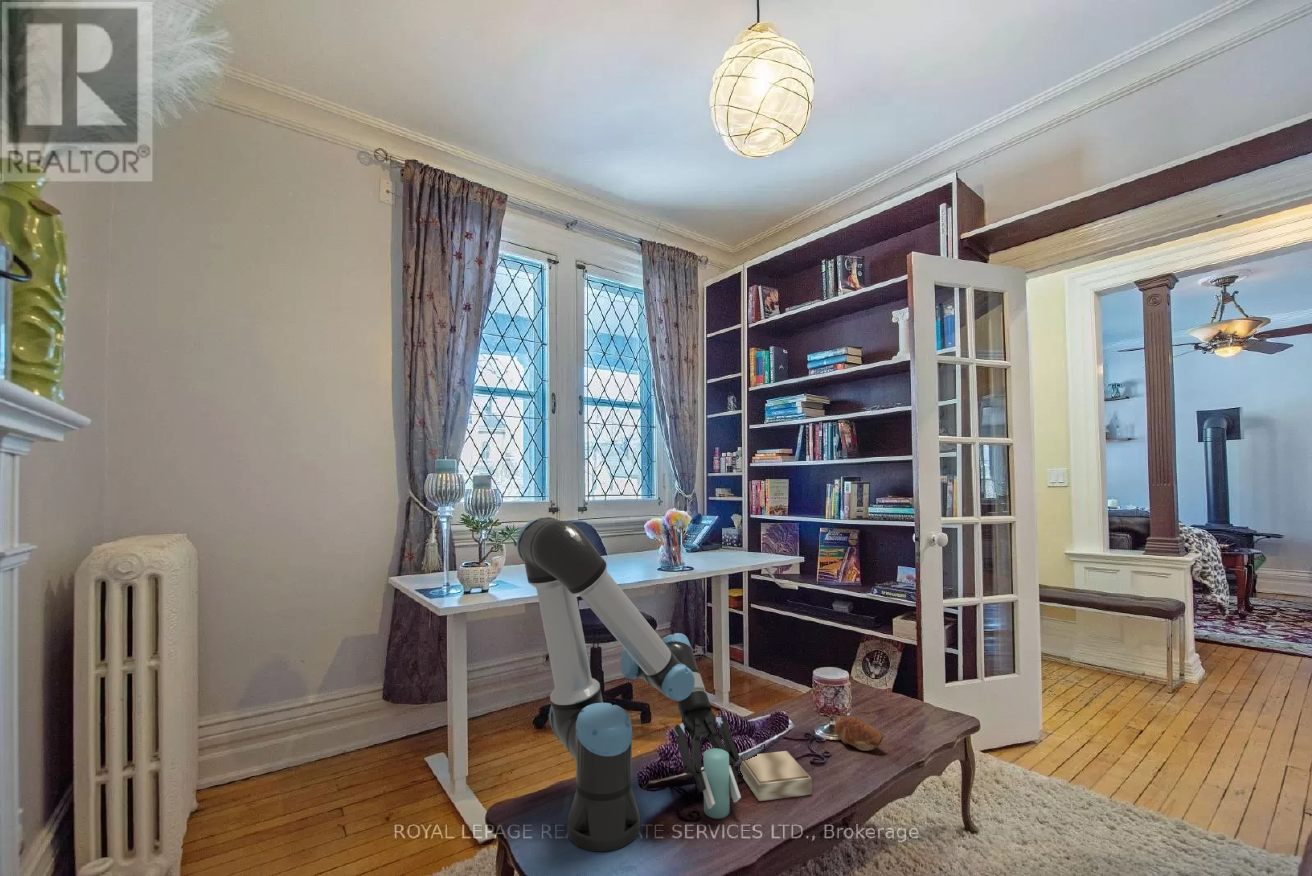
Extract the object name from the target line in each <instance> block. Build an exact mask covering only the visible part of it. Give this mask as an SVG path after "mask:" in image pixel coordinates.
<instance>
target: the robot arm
mask: <svg viewBox="0 0 1312 876" xmlns="http://www.w3.org/2000/svg"><path fill="white" fill-rule="evenodd" d="M516 540H517V541H516V548H517V553H518V555H519V557H520V559H521V561H522V562H523V563H524V568H525V573H526V577H527V583H528V584H529V585H531V586H532V587H534V588H535V589H536V593H537V598H538V599H537V600H538V604H539V609H540V615H541V620H542V625H543V631H544V635H545V636H544V637H545V641H546V647H547V653H548V657H549V662H550V667H551V673H552V679H553V683H554V688H553V690H552V692H551V693H550V695H549V700H550V708H549V725H550V727H551V730H552V732H553V734H554V736H555V737H556V739H557V740H558V741H559V742H561V743H562V745H563V747H565V749H566V750H567V751H568V752H569V753H570V755H571V757H573V759H574V760H575V767H576V768H575V773H576V775H575V777H576V779H575V782H576V784H575V785H576V787H575V793H574V797H573V800H572V803H571V806H570V810H569V812H568V816H567V825H566V826H567V828H566V829H567V831H566V832H567V836H568V838H569V840H570V841H571V842H572V843H573V844H574V845H575V846H577V847H579V848H581V849H583V850H587V851H590V852H591V851H593V852H609V851H613V850H614V851H615V850H619V849H620V848H623V847H625V846H627V845H628V844H630V843H632V842H633V841H634V840H635V839H636V838H637V836H639V832H640V829H641V816H640V811H639V807H638V805H637V801H636V798H635V795H634V794H635V793H634V792H633V789H632V788H633V787H632V786H633V784H632V779H633V777H632V772H633V770H632V769H633V768H632V766H633V764H632V763H633V758H632V756H633V754H632V753H633V729H632V720H631V717H630V714H629V713H628V712H627V711H626V709H624V708H623V707H621V706H619V705H617V704H613V705H612V703H610V702H604V701H603V695H602V690H601V683H600V682H599V681H598V680H597V679H596V678H594V677H592V673H591V668H590V662H589V657H588V651H587V646H586V641H585V640H586V639H585V634H584V630H583V624H582V619H581V614H580V609H579V603H578V597H577V596H578V595H579V596H580V598H581V599H582V600H583V601H584V602H585V604H586V605H587V606H588V607H589V608H590V609H591V611H592V612H593V613H594V615H596V616H597V618H598V619H599V621H600V622H601V623H602V624H603V625H604V626H605V628H606V629H607V630H608V631H609V633H611V634H612V636H613V637H614V638H615V640H616V641H617V642H618V643H619V644H620V645H621V646H622V648H623V649H622V651H621V653H620V661H619V666H620V671H621V674H622V676H623V677H624V678H625V679H629V680H630V679H631V680H636V679H641V680H643V681H644V682H646V683H647V684H649V685H650V686H651V687H653V688H655V689H656V690H657V691H659V692H660V693H661V694H663V695H664V697H666V698H667V699H671V700H672V701H675V702H677V704H676V705H677V707H678V711H679V714H680V717H681V723H680V724H676V725H675V726H674V728H673V729H672V734H673V735H674V737H675V739H676V741H677V746H678V751H679V755H680V758H681V761H682V766H683V770H684V773H685V774H686V775H691V777H693V778H695V783H696V785H697V789H698V791H699V792H702V793H703V798H704V797H705V800H706V804H707V807H708V809H710V808H712V807H713V806H714V805H715V801H714V798H713V795H712V791H711V788H710V785H709V781H708V778H707V775H706V772H705V771H704V770H703V771H702V758H701V757H702V754H701V753H702V752H701V738H706V739H707V740H708V742H710V744H711V745H712V747H713V748H717V749H722V750H725V751H726V752H728V754H729V794H730V795H731V798H732V802H733V803H737V802H738V801H739V800H740V799H741V798H742V796H741V793H740V790H739V787H738V782H739V777H738V773H737V771H736V767H735V765H736V763H737V762H739V759H740V757H741V756H740V754H739V751H738V749H737V747H736V744H735V741H734V740H733V736H732V734H731V731H730V729H729V726H728V717H727V716H726V715H724V716H722V717H720V716H719V717H718V716H716V715H715V713H714V712H713V710H712V706H711V703H710V699H709V697H708V694H707V692H706V688H705V685H704V682H703V679H702V675H701V674H700V670H699V667H698V664H697V660H696V658H695V657H696V656H695V654H694V651H693V648H692V645H691V643H690V640H689V638H688V636H686V635H685V634H684V633H680V632H676V633H675V632H674V633H673V634H668V635H666V636H665V637H663V639H661V637H660V635H659V634H658V633H657V632H656V630H655V629H654V628H653V627H652V626H651V625H650V623H649V622H648V621H647V620H646V618H645V617H644V616H643V614H642V613H641V612H640V611H639V609H638V608H637V607H636V605H634V603H633V602H632V600H630V598H629V597H628V596H627V594H626V593H625V592H624V590H622V588H621V587H620V585H618V583H617V582H616V581H615V580H614V578H613V577H612V576H611V574H610V573H609V572H608V571H607V570H608V564H607V562H606V561H605V559H604V557H602V555H601V554H600V553H599V552H598V550H597V549H596V547H595V546H594V545H593V544H592V542H591V541H590V539H588V537H587V536H586V534H585V533H584V532H583V531H582V530H581V529H580V528H579V527H578V526H577V525H575V524H574V523H572V522H569V521H566V520H559V519H556V518H554V517H552V516H551V517H550V516H547V517H545V516H544V517H538V518H534V519H532V520H529V522H527V523H526V524H525V525H523V527H522V528H521V530H520V531H519V534H518V536H517V539H516ZM715 725H716V726H717V728H718V730H719V733H720V736H721V738H720V736H719V735H718V731H717V730H716V728H715ZM686 732H687V733H688V734H690V744H691V754H690V750H689V745H688V742H687V737H686V734H685V733H686ZM721 739H722V740H721ZM691 757H692V758H691Z"/></svg>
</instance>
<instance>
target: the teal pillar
mask: <svg viewBox="0 0 1312 876" xmlns="http://www.w3.org/2000/svg"><path fill="white" fill-rule="evenodd" d="M703 771H705V772H706V775H707V778H708V781H709V785H710V788H711V791H712V795H713V798H714V801H715V805H714V806H713V807H712V808H710V809H708V807H707V804H706V800H705V797H704V796H703V813H704V814H705V815H706V816H707V817H709V818H712V819H718V820H719V819H724V818H726V817H727V816H729V815H730V790H729V754H728V752H726V751H725V750H722V749H717V748H714V747H713V748H708V749H706V750H705V751H704V752H703Z"/></svg>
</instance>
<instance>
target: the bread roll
mask: <svg viewBox="0 0 1312 876" xmlns="http://www.w3.org/2000/svg"><path fill="white" fill-rule="evenodd" d="M834 729H835V734H836V735H837V737H838V738H839V739H840V740H841V741H842V743H843V744H846V745H850V746H852V747H854V748H856V749H858V750H859V751H864V752H867V751H873V750H875V749H876V748H878V747H879V746H881V743H882V742H883V739H884V738H885V735H884V734H883V733H882V731H881V730H879V729H877V728H876V727H874V726H873V725H870V724H868V723H867V722H865V721H864V720H862V719H861V718H859V717H857V716H852V717H851V716H850V717H849V716H845V715H844V716H843V715H839V716H838V717H837V718H836V719H835V723H834Z"/></svg>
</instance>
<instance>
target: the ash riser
mask: <svg viewBox="0 0 1312 876" xmlns="http://www.w3.org/2000/svg"><path fill="white" fill-rule="evenodd" d="M756 754H757V756H755V757H752V758H750V759H748V760H745V761H742V763H741V765H740V771H741V773H742V775H743V777H742V778H743V780H744V782H745V783H746V784H747V786H748V787H749V789H750V790H751V792H752V793H753V795H754V797H755V798H756V799H757V801H758V802H763V801H772V800H777V799H778V800H779V799H786V798H794V797H802V796H803V797H804V796H809V795H810V796H811V795H813V791H812V790H813V787H812V786H813V784H812V783H813V781H812V780H813V778H812V777H811V776H810V775H809V773H808V772H807V771H805V769H804V768H803V767H802V766H801V765H800V764H799V762H797V760H796V759H795V758H794V757H793V756H792V755H791V754H790V753H789V751H787V750H783V751H782V750H781V751H774V752H773V751H772V752H766V753H765V752H764V753H756ZM742 775H741V776H742Z"/></svg>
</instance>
